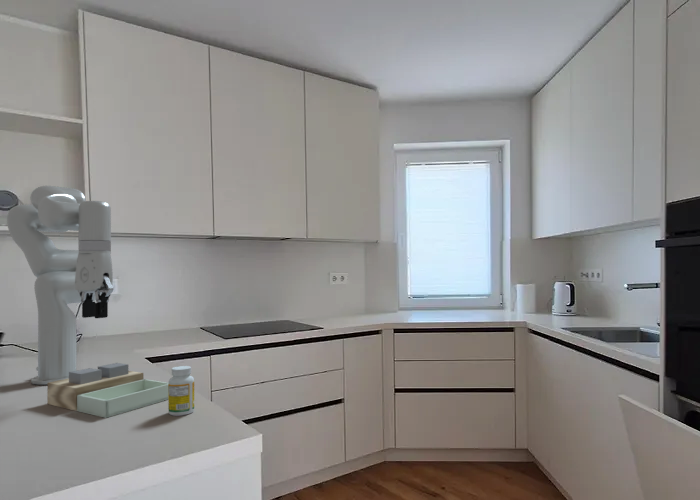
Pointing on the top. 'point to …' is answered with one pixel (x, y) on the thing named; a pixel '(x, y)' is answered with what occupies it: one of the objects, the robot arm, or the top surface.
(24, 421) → the top surface
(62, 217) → the robot arm
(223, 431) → the top surface
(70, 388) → the board
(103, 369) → the tile
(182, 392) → the supplement bottle
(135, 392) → the tray
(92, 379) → the tile
